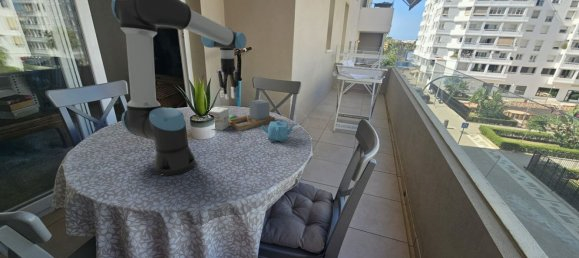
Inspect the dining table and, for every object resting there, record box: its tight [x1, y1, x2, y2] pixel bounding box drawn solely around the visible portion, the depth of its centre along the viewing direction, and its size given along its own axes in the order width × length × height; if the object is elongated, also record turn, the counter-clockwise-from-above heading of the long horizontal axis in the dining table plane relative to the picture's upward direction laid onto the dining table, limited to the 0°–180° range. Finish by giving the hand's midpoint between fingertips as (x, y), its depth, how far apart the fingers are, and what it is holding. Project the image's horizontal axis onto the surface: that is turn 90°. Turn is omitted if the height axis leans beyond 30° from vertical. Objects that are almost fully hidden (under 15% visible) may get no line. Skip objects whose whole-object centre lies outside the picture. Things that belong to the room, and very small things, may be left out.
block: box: [248, 99, 270, 121], centre depth 146 cm, size 8×9×12 cm
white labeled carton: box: [209, 106, 230, 131], centre depth 135 cm, size 9×8×12 cm
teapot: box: [260, 120, 296, 143], centre depth 124 cm, size 18×14×10 cm
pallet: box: [229, 114, 276, 132], centre depth 144 cm, size 14×25×4 cm, turn 132°
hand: (230, 98), depth 143 cm, fingers open, 3 cm apart
